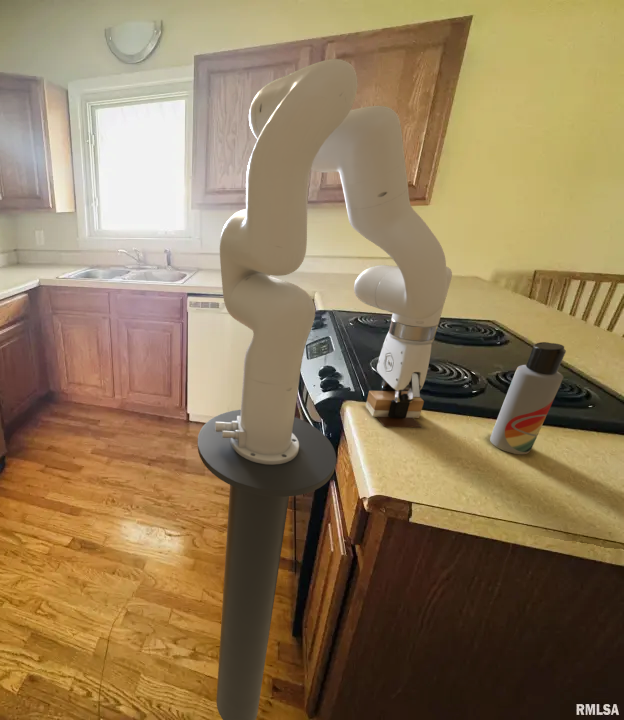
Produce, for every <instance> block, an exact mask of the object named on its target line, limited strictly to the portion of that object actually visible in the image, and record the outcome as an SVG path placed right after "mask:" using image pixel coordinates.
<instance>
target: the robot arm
mask: <svg viewBox="0 0 624 720" xmlns="http://www.w3.org/2000/svg"><path fill="white" fill-rule="evenodd" d="M358 84H359V83H358V74H357V72H356V69H355V67H354V66H353V65H352V64H351V63H350V62H349V61H347V60H344V59H340V58H333V59H332V58H331V59H325V60H321V61H318V62H315V63H312V64H309V65H307V66H304V67H303V68H299V69H297V70H295V71H293V72H291V73H288V74H287V75H284V76H282V77H280V78H279V77H278V78H277V79H275V80H273V81H270V82H269V83H267V84H266V85H264V86H263V87H262V88H261V89H260V90H259V91H258V92H256V94H255V96H254V97H253V100H252V102H251V104H250V106H249V107H250V108H249V111H248V112H249V114H248V121H249V127H250V129H251V132H252V134H253V136H254V137H255V139H256V142H255V143H254V146H253V149H252V151H251V154H250V157H249V161H248V165H247V170H246V179H245V181H246V183H245V188H246V189H245V194H246V195H245V208H244V209H241V210H239V211H236V212H234V214H233V215H231V216H230V217H229V218H228V220H226V222H225V224H224V226H223V228H222V231H221V234H220V238H219V263H220V275H221V288H222V297H223V303H224V306H225V309H226V311H227V312H228V314H229V315H230V316H231V317H232V318H233V319H234V320H236V321H237V322H238V323H239V324H242V325H243V326H245V327H247V328H248V329H249V330H251V331H252V334H253V335H252V339H251V341H250V342H249V344H248V347H247V349H246V351H245V353H244V360H243V376H242V388H241V389H242V390H241V401H240V402H241V404H240V410H241V416H237V421H232V423H228V422H215V431H216V432H222V438H231V445H232V447H233V449H234V450H235V451H236V452H237V453H238V454H239V455H241V456H242V457H244V458H246V459H248V460H250V461H253V462H256V463H260V464H268V465H275V464H282V463H286V462H288V461H291V460H292V459H294V458H295V457H296V455H297V454H298V451H299V441H298V439H297V438H296V436H295V435H294V434H293V433H292V430H293V422H294V417H295V414H296V406H297V399H298V392H299V385H300V378H301V372H302V371H301V369H302V364H303V358H304V353H305V349H306V345H307V341H308V338H309V336H310V333H311V331H312V328H313V326H314V322H315V319H316V318H315V317H316V307H315V302H314V300H313V299H312V297H311V296H310V294H309V293H308V292H307V291H306V290H305V289H303V288H302V287H300V286H299V285H297V284H294V283H292V282H289V281H286V280H283V279H281V278H277V277H282V276H288V275H290V274H293V273H294V272H295V271H297V270H298V269H299V268H300V267H301V265H302V263H303V262H304V260H305V258H306V257H305V256H306V254H307V245H308V244H307V243H308V204H309V203H308V200H309V199H308V198H309V197H308V195H309V194H308V193H309V183H310V182H309V181H310V176H311V175H310V174H311V171H313V172H318V173H322V174H323V173H339V178H340V183H341V187H342V192H343V196H344V202H345V207H346V212H347V217H348V219H347V220H348V223H349V224H350V226H351V227H352V228H353V229H354V230H355V231H356V232H357V233H358V234H359V235H361V236H362V237H364V238H365V239H367V240H368V241H369V242H371V243H372V244H374V245H376V246H377V247H378V248H380V249H381V250H382V251H384V252H385V253H386V254H387V255H388V256H389V257H390V258H391V259H392V260H393V261H394V263H395V264H396V265H387V264H380V265H375V266H371V267H368V268H366V269H365V270H363V271H362V272H361V273H360V274H359V275H358V276H357V278H356V279H355V281H354V286H353V291H354V294H355V297H356V298H357V299H358V300H359V301H360V302H362V303H363V304H365V305H367V306H370V307H373V308H375V309H379V310H382V311H386V312H388V313H392V315H391V320H390V323H389V329H388V332H387V333H386V336H385V339H384V342H383V344H382V346H381V350H380V354H379V356H378V357H379V358H378V361H377V365H376V371H377V373H378V374H379V376H381V378H382V382H381V390H380V391H396V392H395V400H392V402H391V406H390V410H389V414H388V416H389V417H390V418H406V415H407V411H408V408H409V404H410V403H411V402H412V401H413V400H417V399H420V398H421V393H420V391H421V390H422V389H423V387H424V384H425V382H426V379H427V374H428V370H429V364H430V359H431V353H432V345H433V344H432V343H433V342H434V341H435V338H436V334H437V331H438V327H439V323H440V321H441V317H442V313H443V310H444V306H445V303H446V299H447V295H448V292H449V289H450V285H451V281H452V277H453V271H452V269H451V268H450V267H448V266H447V260H446V255H445V252H444V248H443V247H442V245H441V243H440V241H439V240H438V238H437V236H436V235H435V233H433V231H432V230H431V228H430V227H429V226H428V224H427V223H426V222H425V220H424V219H423V218H422V216H420V215H419V214H418V213H417V211H415V209H414V208H413V207H412V204H411V201H410V193H409V183H408V175H407V174H408V173H407V165H406V157H405V149H404V139H403V132H402V125H401V119H400V117H399V115H398V114H397V112H396V111H395V110H394V109H392V108H391V107H388V106H385V105H371V106H364V107H359V108H354V109H352V107H353V105H354V103H355V100H356V97H357V93H358V92H357V91H358ZM273 276H276V277H273ZM402 391H407V394H403V395H401V392H402Z"/></svg>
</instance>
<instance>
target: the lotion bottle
mask: <svg viewBox="0 0 624 720" xmlns="http://www.w3.org/2000/svg"><path fill="white" fill-rule="evenodd" d="M566 353H567V350H566V349H565V346H564V345H563V344H560V343H555V342H547V341H542V342H537V343H535V344H534V345H533V347H532V349H531V352H530V355H529V357H528V360H527V362H526V364H521V365H519V366H517V368H516V370H515V372H514V375H513V377H512V379H511V382H510V385H509V387H508V390H507V392H506V395H505V398H504V400H503V403H502V406H501V408H500V410H499V413H498V415H497V418H496V421H495V422H494V423H495V424H494V426H493V428H492V432H491V434H490V437H489V441H490V443H491V444H492V445H493V446H494V447H496V448H498V449H499V450H501V451H503V452H506V453H510V454H514V455H527V454H529V453H530V452H531V450H532V448H534V447H533V446H534V445H535V442H536V441H537V438H538V435H539V434H540V431H541V429H542V426H543V424H544V422H545V420H546V419H547V418H546V417H547V416H548V413H549V411H550V409H551V407H552V404H553V402H554V401H555V398H556V395H557V393H558V391H559V388H560V386H561V384H562V383H563V379H564V375H563V374H562V373H561V372H559V371H558V370H559V368H560V366H561V364H562V362H563V359H564V357H565V355H566Z"/></svg>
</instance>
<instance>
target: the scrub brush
mask: <svg viewBox="0 0 624 720" xmlns="http://www.w3.org/2000/svg"><path fill="white" fill-rule="evenodd" d="M395 392H396V391H381V390H368V395H367V398H366V403H365V408H366V409H367V410H368V412H369V414H370V415H371V416H372V417H375V418H377V417H389V416H388V414H389V410H390V406H391V402H392V400H395ZM403 394H407V391H402V392H401V395H403ZM424 403H425V401H424V400H423V398H422V397H420V399H417V400H413V401H412V402H411V403H410V404H409V408H408V411H407V415H406V417H409V418H414V419H419V418H420V417H421V414H422V410H423V407H424Z"/></svg>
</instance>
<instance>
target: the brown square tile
mask: <svg viewBox="0 0 624 720" xmlns="http://www.w3.org/2000/svg"><path fill="white" fill-rule="evenodd" d="M376 418H377V420H378V421H379V422H380V423H381V425H382V426H383V427H386V428H387V427H388V428H422V425H421V424H419V422H418V420H416V418H409V417H406V418H390V417H376Z"/></svg>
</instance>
